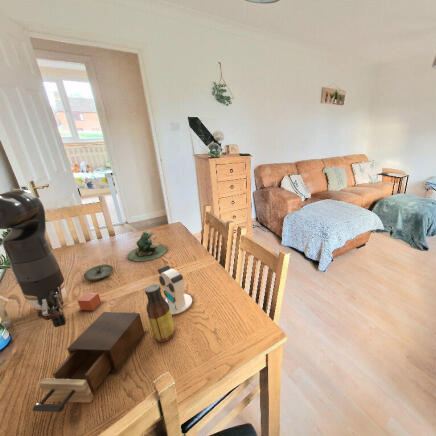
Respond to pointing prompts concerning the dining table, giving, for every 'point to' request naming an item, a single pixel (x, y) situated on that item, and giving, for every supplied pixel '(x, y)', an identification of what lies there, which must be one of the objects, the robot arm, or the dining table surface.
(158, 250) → the frog figurine
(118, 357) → the cabinet
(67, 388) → the drawer
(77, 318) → the dining table surface
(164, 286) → the panda figurine
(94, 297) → the block
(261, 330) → the dining table surface
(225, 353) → the dining table surface
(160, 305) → the sauce bottle
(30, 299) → the trinket box
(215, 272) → the dining table surface
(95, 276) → the lid
